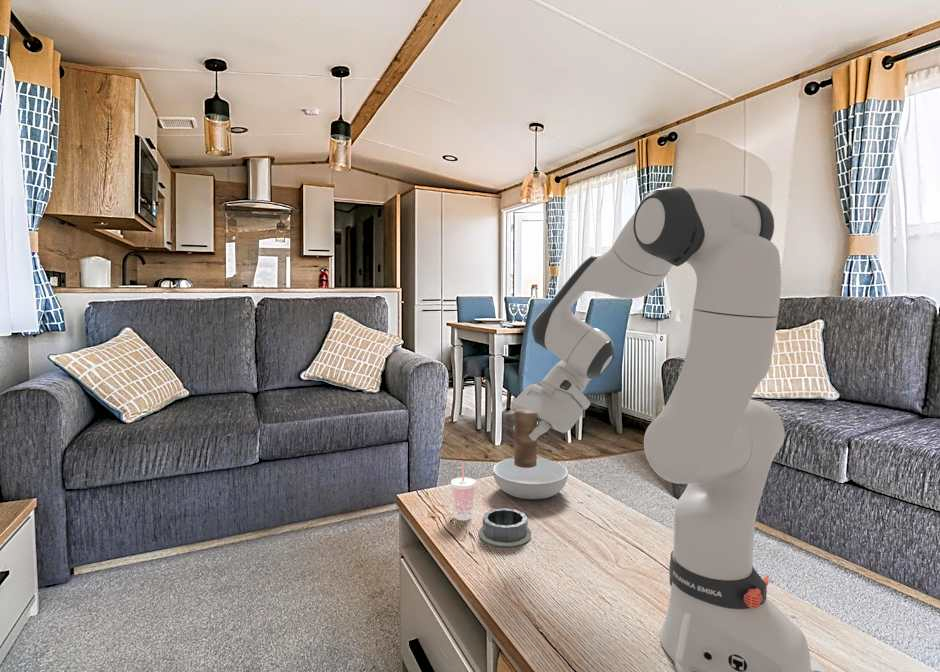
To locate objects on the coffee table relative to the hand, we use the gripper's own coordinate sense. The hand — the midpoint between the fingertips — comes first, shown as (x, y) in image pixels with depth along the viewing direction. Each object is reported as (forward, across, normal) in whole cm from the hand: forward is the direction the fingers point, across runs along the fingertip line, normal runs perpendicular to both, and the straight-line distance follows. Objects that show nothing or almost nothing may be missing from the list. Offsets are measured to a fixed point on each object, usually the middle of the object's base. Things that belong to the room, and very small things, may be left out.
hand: (523, 434), depth 115 cm
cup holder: (+19, -3, +15) cm, 24 cm away
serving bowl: (+7, -22, +28) cm, 37 cm away
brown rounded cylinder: (+4, 0, +5) cm, 7 cm away
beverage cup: (+23, -16, +12) cm, 30 cm away
